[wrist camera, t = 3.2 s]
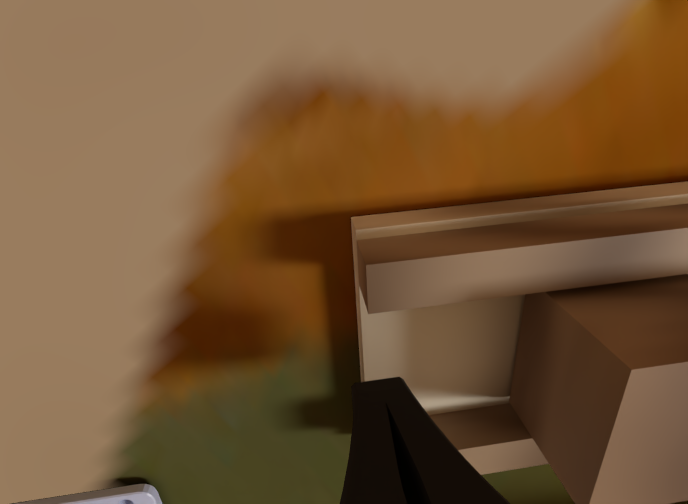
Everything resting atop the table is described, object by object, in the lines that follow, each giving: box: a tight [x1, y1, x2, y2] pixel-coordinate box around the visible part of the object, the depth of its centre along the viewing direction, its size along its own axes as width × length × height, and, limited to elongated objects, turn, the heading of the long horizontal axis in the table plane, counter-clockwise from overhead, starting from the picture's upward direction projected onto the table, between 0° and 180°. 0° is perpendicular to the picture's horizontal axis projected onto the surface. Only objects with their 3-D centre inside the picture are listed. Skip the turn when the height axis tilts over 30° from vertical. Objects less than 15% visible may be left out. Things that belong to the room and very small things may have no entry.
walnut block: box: [509, 274, 688, 504], centre depth 11 cm, size 6×5×4 cm
